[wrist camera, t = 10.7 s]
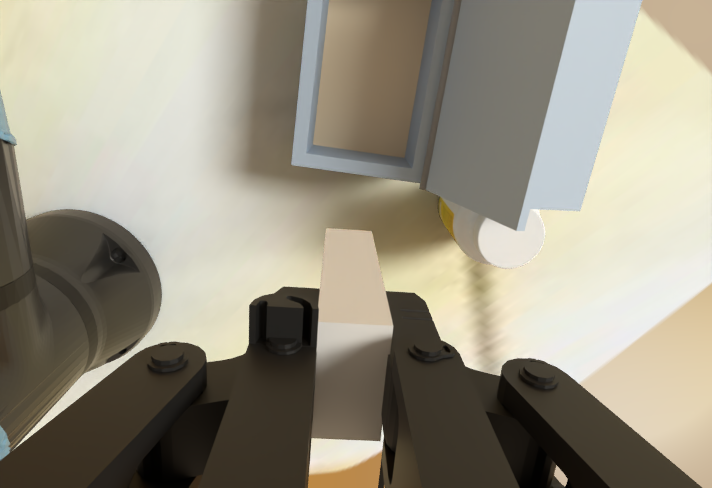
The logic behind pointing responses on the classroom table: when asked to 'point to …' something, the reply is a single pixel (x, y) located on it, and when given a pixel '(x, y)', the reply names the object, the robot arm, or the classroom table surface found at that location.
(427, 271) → the classroom table surface
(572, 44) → the lid
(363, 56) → the box
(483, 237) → the pill bottle
